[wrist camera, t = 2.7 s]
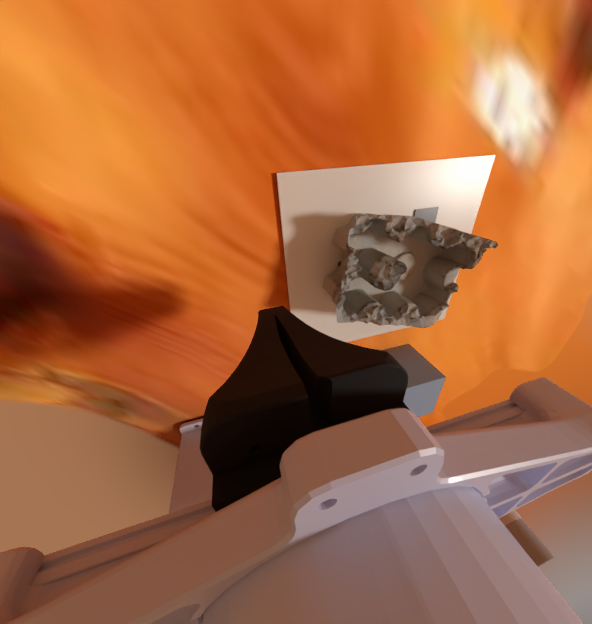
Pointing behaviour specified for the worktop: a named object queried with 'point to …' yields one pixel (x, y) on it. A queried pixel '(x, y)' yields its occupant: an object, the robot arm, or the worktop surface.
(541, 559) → the container
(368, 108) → the worktop surface
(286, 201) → the letter mat
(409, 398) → the cube
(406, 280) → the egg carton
